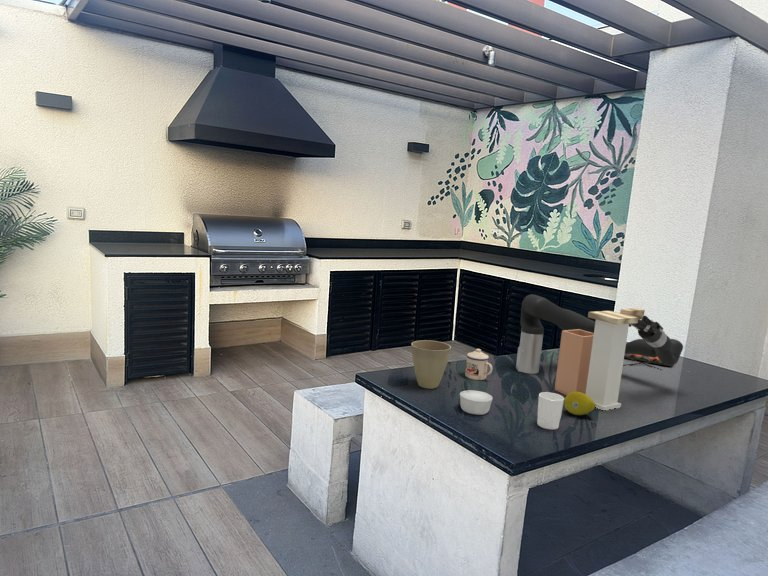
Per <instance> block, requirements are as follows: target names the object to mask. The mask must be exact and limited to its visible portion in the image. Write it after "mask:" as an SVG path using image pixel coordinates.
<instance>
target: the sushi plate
mask: <svg viewBox="0 0 768 576" xmlns="http://www.w3.org/2000/svg"><path fill="white" fill-rule="evenodd" d="M624 359H626V360H632V361H634V362H637V363H627V364H623V367H624V366H625V367H627V366H626V365H630V366H635V365H636V366H637V365H645V366H647V367H650V368H652V367H654V368H653V369H655V368H657V369H656V370H659V369H660V371H662V370H663V369H661V368H659V367H656V366H653V365H657V364H658V366H663V365H664V366H667V367H672V366H673V365H671V366H669V365H666V364H664V363H662V362H661V361H660V360H659V359H658V357H654V358H653V357H647V356H642V355H635V354H624ZM637 360H638V361H637ZM642 361H643V362H642ZM648 363H649V364H648ZM652 363H653V364H652ZM650 364H652V365H650Z"/></svg>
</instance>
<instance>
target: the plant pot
mask: <svg viewBox="0 0 768 576" xmlns="http://www.w3.org/2000/svg"><path fill="white" fill-rule="evenodd" d="M451 349H452V346H451V345H450V344H448V343H445V342H443V341H437V340H426V339H424V340H415V341H413V342H411V356H412V357H411V358H412V363H413V369H414V374H415V377H416V382H417V385H418V386H419V387H421V388H423V389H429V390H430V389H431V390H432V389H436V388H438V387H439V385H440V383H441V380H442V378H443V375H444V374H445V370H446V368H447V365H448V361H449V357H450V353H451Z"/></svg>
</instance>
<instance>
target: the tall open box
mask: <svg viewBox="0 0 768 576" xmlns="http://www.w3.org/2000/svg"><path fill="white" fill-rule="evenodd" d="M593 336H594V332H587V331H584V330H581V329H576V330H563V329H562V330H561V336H560V345H559V352H558V360H557V369H556V373H555V374H556V376H555V382H554V383H555V384H554V391H555V392H558V393H561V394H562V395H565V396H567V395H568V394H569V393H570V392H574V391H575V392H581V393H584V394H586V387H587V380H588V372H589V365H590V358H591V351H592V344H593Z"/></svg>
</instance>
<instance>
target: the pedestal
mask: <svg viewBox="0 0 768 576" xmlns="http://www.w3.org/2000/svg"><path fill="white" fill-rule="evenodd" d="M594 322H595V329H594V331H593V333H594V336H593V344H592V351H591V358H590V365H589V372H588V380H587V387H586V395H587V396H589V397H590V398H591V399H592V400H593V402H595V404H596V406H595V407H596V408H595V409H597V408H598V409H597V410H599V409H601V410H606V411H610V410H609V409H611V410H615V409H614V408H616V409H620V407H621V408H622V403H620V402H618V400H619V393H620V388H621V387H620V386H621V379H622V372H623V367H624V366H623V365H624V361H625V360H624V359H625V358H624V354H625V347H626V343H627V341H628V332H629V324H619V325H616V324H612V323H608V322H604V321H600V320H596V319H595V321H594ZM601 410H600V411H601Z"/></svg>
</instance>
